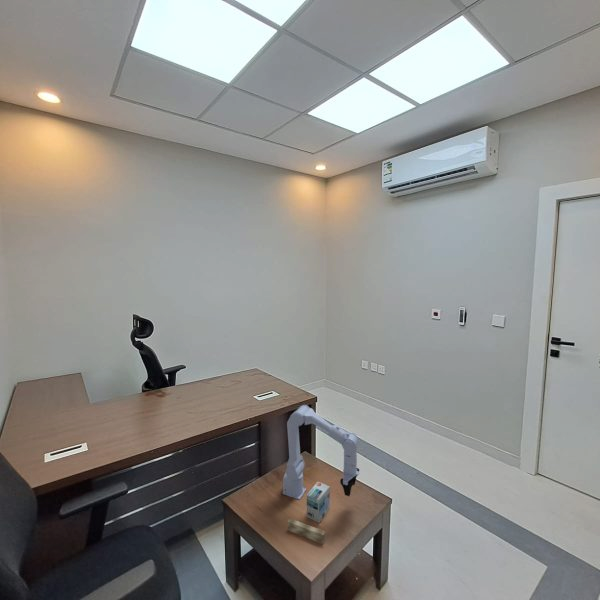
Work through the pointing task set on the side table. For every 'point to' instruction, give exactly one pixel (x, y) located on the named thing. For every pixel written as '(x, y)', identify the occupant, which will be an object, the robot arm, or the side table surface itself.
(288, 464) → the robot arm
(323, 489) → the light bulb box
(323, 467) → the side table surface
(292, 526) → the metal block
